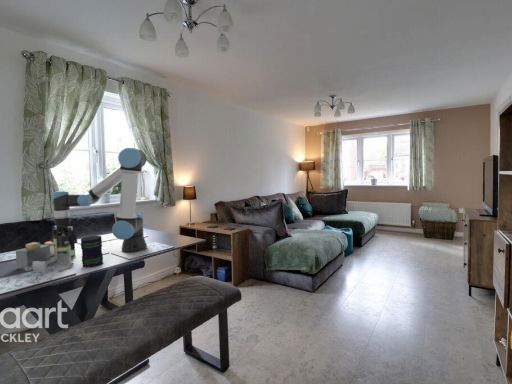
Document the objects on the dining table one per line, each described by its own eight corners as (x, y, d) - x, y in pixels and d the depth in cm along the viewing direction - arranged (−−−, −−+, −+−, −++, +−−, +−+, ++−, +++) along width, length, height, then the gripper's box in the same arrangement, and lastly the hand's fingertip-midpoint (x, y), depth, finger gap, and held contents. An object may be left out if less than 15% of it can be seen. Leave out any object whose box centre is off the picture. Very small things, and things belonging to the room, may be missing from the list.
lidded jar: (49, 257, 163) (48, 242, 162) (42, 254, 169) (41, 240, 168) (69, 252, 172) (68, 238, 171) (61, 250, 178) (60, 236, 177)
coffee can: (79, 256, 164) (78, 233, 163) (64, 261, 154) (63, 237, 153) (65, 255, 167) (64, 232, 165) (49, 260, 156) (48, 236, 155)
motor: (52, 274, 135) (50, 249, 134) (11, 269, 143) (9, 246, 142) (78, 264, 149) (77, 242, 148) (40, 260, 157) (38, 239, 156)
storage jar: (100, 266, 145) (98, 239, 144) (79, 268, 142) (77, 240, 141) (105, 260, 155) (103, 235, 153) (85, 262, 152) (83, 236, 151)
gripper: (83, 216, 159) (85, 254, 161) (54, 215, 165) (56, 251, 167) (71, 219, 152) (74, 257, 154) (41, 217, 158) (44, 255, 160)
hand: (65, 254), depth 160 cm, fingers closed on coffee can, 10 cm apart
